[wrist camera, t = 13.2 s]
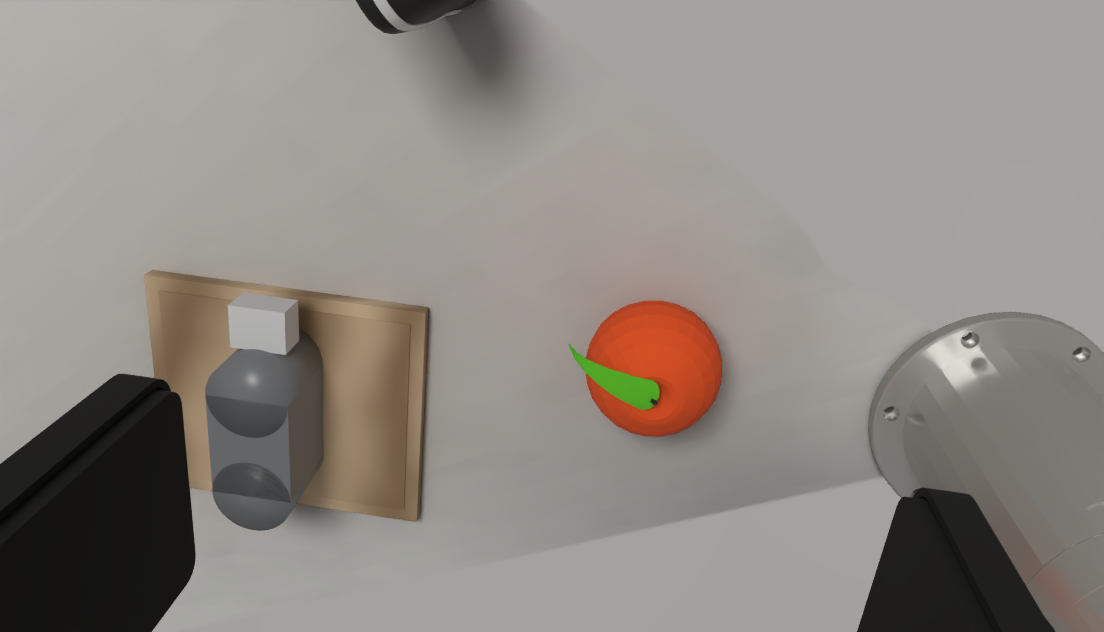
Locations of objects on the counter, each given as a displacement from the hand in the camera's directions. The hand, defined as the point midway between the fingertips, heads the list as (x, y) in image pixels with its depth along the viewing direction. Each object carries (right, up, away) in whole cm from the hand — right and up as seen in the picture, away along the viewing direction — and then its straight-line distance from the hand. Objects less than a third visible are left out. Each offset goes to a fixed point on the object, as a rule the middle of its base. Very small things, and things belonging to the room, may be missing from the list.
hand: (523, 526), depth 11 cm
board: (-15, -2, +39) cm, 42 cm away
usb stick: (-15, -1, +38) cm, 41 cm away
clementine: (+5, +2, +35) cm, 36 cm away
